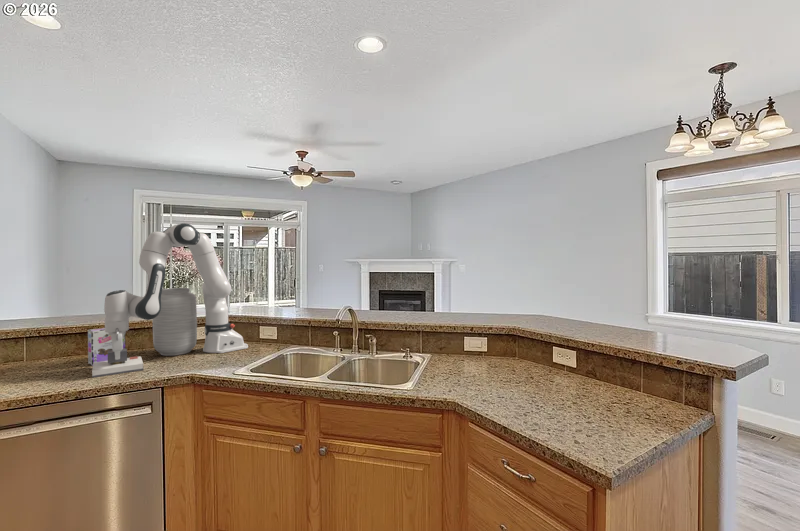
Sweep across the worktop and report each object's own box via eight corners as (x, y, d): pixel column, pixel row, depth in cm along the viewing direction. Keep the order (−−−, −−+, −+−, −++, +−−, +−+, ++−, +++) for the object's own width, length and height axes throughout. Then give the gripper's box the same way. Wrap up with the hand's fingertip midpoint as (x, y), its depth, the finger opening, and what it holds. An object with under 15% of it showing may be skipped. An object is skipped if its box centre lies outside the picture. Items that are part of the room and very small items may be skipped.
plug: (126, 361, 183) (126, 346, 182) (127, 364, 178) (126, 348, 178) (107, 364, 178) (107, 348, 178) (107, 367, 174) (107, 350, 174)
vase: (192, 346, 223) (191, 286, 223) (201, 353, 208) (200, 289, 207) (150, 352, 211) (149, 288, 210) (156, 359, 195) (155, 291, 194)
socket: (141, 362, 190) (140, 354, 190) (143, 370, 177) (143, 362, 177) (93, 368, 180) (93, 361, 179) (92, 377, 167) (92, 369, 167)
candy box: (91, 366, 184) (91, 330, 184) (87, 364, 188) (86, 329, 187) (126, 359, 195) (125, 326, 195) (121, 358, 199) (121, 325, 198)
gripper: (126, 329, 171) (126, 361, 172) (124, 323, 188) (125, 352, 188) (108, 331, 168) (108, 363, 168) (108, 324, 184) (108, 354, 184)
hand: (117, 357), depth 178 cm, fingers closed on plug, 5 cm apart
